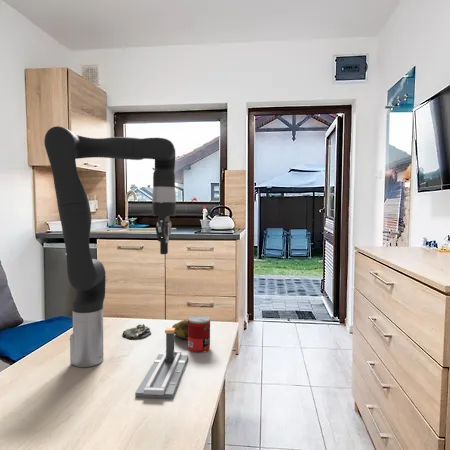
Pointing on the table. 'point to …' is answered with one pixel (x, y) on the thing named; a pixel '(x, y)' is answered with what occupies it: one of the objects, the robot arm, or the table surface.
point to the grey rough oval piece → (137, 332)
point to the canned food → (198, 333)
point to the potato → (181, 329)
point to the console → (163, 377)
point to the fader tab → (169, 345)
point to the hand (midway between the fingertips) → (164, 254)
